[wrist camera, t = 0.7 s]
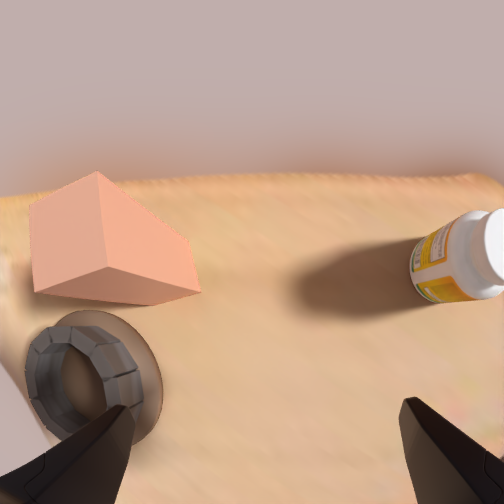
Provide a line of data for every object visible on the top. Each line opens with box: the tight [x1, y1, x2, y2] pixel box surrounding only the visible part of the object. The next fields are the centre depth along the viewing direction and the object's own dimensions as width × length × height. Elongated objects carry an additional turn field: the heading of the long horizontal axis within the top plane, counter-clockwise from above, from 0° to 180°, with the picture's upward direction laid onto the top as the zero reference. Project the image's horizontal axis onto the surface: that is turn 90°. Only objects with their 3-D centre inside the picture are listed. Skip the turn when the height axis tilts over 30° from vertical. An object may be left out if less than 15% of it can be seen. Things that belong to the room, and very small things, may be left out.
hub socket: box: [25, 310, 163, 445], centre depth 20 cm, size 12×12×4 cm
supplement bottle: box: [410, 208, 504, 303], centre depth 17 cm, size 5×5×10 cm
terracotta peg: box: [29, 171, 201, 306], centre depth 17 cm, size 4×4×13 cm
